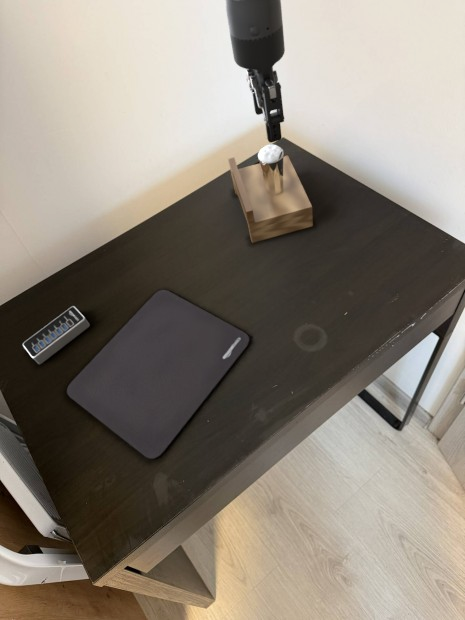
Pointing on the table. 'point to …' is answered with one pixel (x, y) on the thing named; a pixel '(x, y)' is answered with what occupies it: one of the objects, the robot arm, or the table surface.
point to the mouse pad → (157, 371)
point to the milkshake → (272, 168)
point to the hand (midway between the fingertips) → (268, 125)
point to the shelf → (271, 201)
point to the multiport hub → (56, 335)
